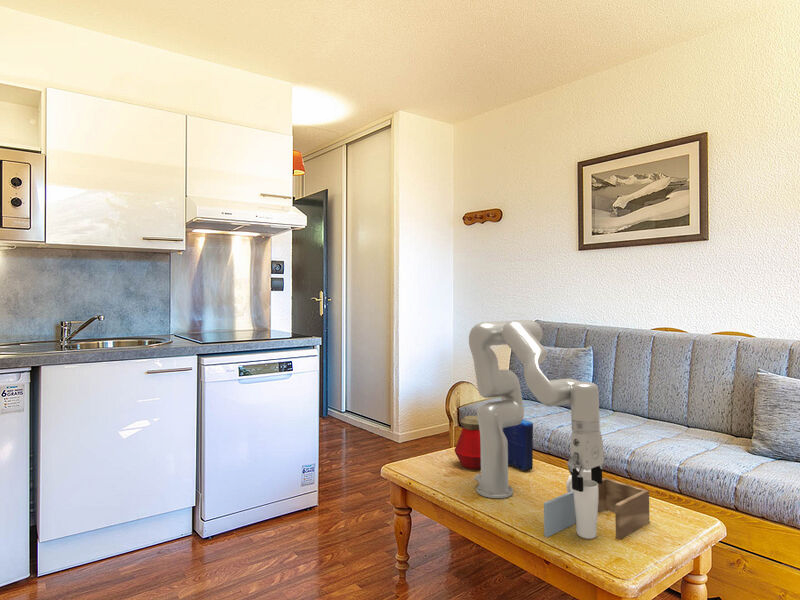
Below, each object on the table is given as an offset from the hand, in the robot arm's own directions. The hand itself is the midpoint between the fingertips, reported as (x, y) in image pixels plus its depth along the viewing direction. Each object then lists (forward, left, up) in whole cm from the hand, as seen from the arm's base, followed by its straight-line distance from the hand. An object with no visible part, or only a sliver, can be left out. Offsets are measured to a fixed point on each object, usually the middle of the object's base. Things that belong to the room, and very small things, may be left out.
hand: (587, 486), depth 139 cm
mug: (-17, +22, -14) cm, 31 cm away
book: (-51, +31, -14) cm, 61 cm away
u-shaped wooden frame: (-1, +14, -14) cm, 20 cm away
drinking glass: (-1, 0, -14) cm, 14 cm away
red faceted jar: (-63, +18, -14) cm, 67 cm away
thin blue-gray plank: (-7, -3, -14) cm, 16 cm away
